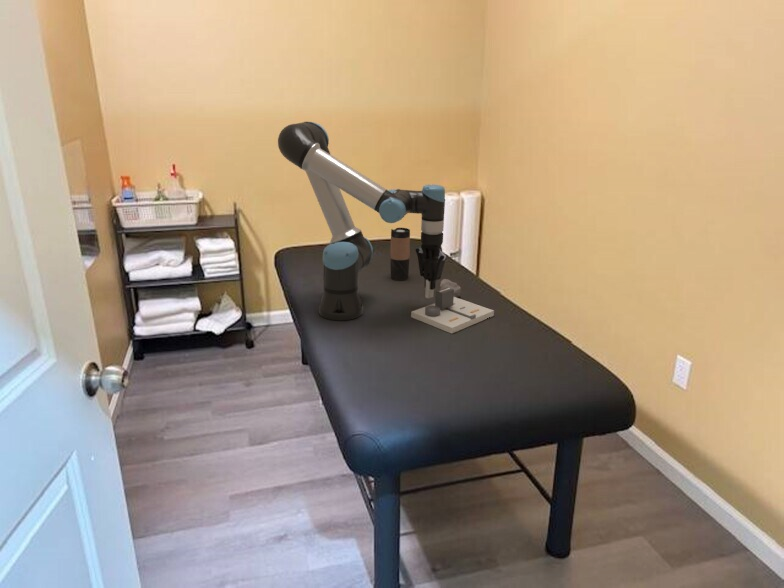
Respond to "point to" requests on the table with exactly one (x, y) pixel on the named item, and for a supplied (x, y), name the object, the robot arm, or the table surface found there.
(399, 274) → the travel mug
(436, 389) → the table surface
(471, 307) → the console
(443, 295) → the fader
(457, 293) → the stone
